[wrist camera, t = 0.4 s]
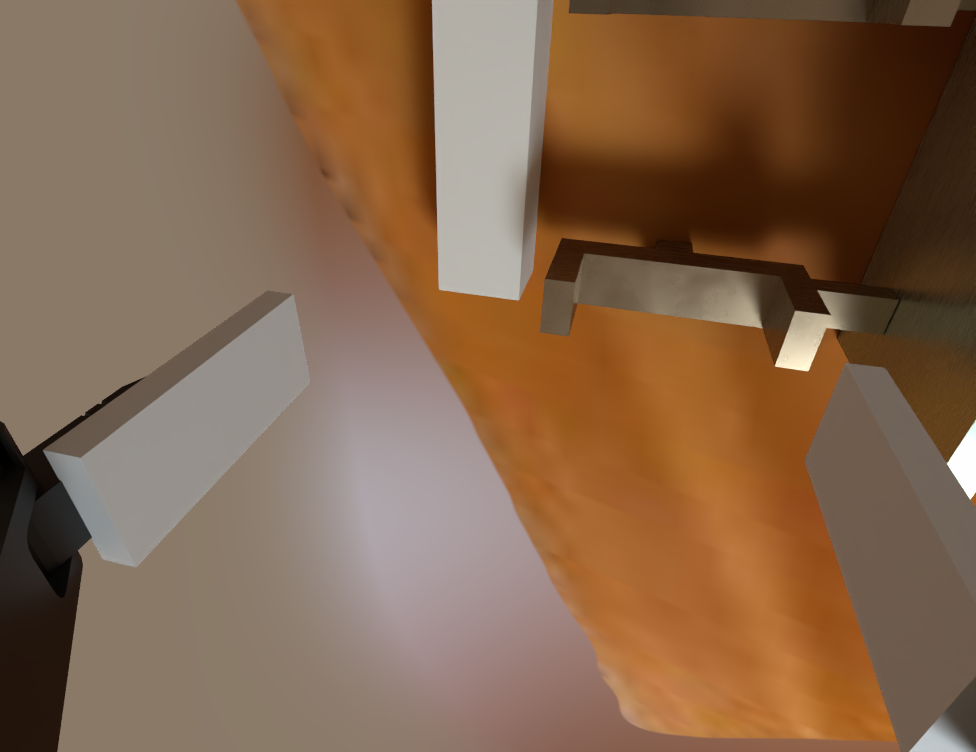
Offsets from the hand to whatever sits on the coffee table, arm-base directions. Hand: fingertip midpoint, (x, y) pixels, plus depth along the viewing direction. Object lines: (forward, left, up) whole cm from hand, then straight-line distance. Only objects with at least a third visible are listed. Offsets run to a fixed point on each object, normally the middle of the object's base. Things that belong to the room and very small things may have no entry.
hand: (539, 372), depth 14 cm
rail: (-2, -6, -23) cm, 24 cm away
